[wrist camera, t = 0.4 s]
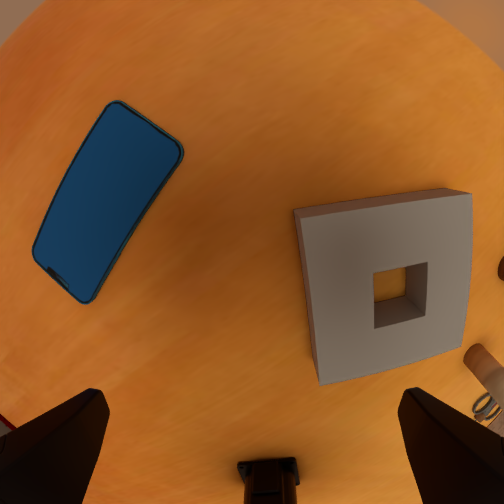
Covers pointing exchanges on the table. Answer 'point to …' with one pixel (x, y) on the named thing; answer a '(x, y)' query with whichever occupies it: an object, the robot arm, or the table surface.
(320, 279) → the socket block
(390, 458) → the table surface
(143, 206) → the smartphone
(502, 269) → the wenge pin
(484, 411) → the syringe
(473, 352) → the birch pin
